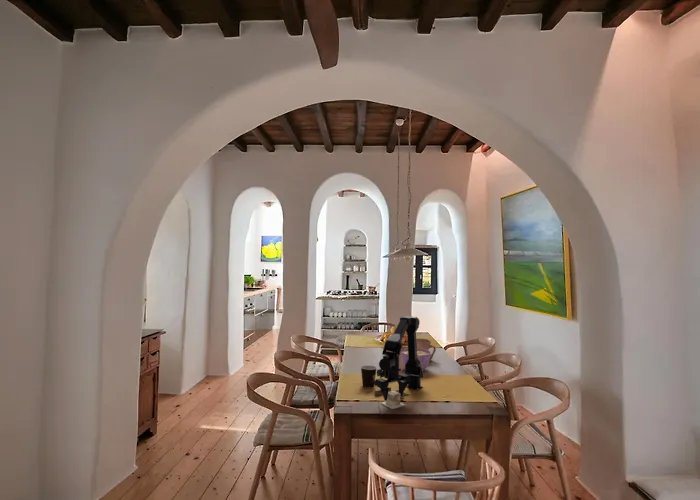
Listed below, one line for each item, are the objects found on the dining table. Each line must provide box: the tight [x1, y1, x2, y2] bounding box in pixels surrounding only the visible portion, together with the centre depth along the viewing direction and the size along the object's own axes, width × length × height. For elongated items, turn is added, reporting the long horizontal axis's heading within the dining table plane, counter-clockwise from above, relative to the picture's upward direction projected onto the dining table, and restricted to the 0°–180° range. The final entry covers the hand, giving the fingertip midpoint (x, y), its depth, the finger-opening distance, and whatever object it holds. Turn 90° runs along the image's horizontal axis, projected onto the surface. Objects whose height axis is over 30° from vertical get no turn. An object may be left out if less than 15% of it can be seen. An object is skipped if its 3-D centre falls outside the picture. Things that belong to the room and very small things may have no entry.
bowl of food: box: [399, 347, 432, 371], centre depth 248 cm, size 20×20×12 cm
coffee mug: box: [360, 364, 377, 389], centre depth 216 cm, size 12×9×10 cm
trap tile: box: [395, 389, 410, 397], centre depth 203 cm, size 5×8×1 cm, turn 35°
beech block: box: [385, 390, 401, 406], centre depth 187 cm, size 5×5×5 cm
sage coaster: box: [380, 401, 406, 410], centre depth 187 cm, size 8×8×1 cm
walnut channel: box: [373, 386, 404, 399], centre depth 199 cm, size 10×11×2 cm
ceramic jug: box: [416, 337, 437, 362], centre depth 271 cm, size 18×14×14 cm
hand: (392, 398), depth 187 cm, fingers open, 9 cm apart
